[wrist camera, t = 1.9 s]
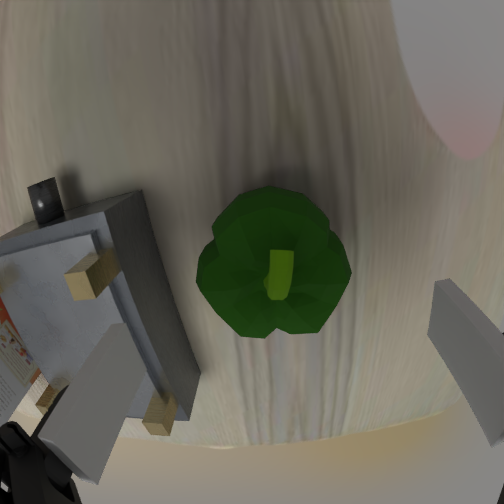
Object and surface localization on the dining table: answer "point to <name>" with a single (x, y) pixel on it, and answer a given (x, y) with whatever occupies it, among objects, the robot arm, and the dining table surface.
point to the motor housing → (97, 298)
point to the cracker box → (13, 367)
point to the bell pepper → (273, 264)
